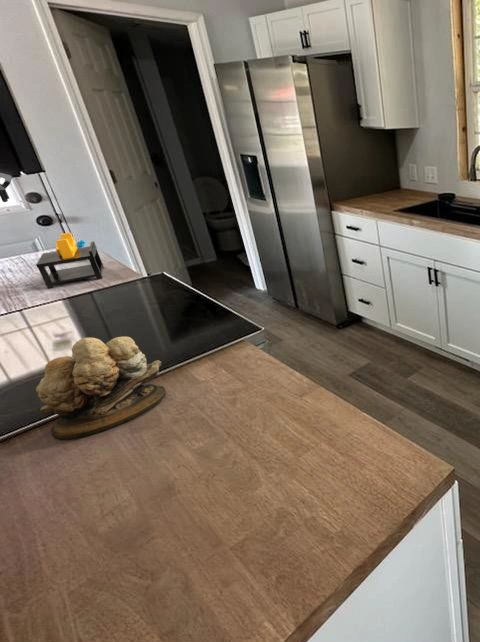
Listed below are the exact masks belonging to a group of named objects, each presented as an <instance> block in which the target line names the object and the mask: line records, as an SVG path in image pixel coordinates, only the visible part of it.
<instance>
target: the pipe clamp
mask: <svg viewBox="0 0 480 642" xmlns="http://www.w3.org/2000/svg"><path fill="white" fill-rule="evenodd" d="M59 237H60V238H61V239H56V240H55V244H56V245H55V248H56V249H55V251H57V254H58V256H62V257H63V259H66V258H72V257H74V256H75V254H76V252H77V250H78V248H77V246H76V245H77V243H76V241H75V239H74V236H73V234H72V232H65V233H60V234H59Z"/></svg>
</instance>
